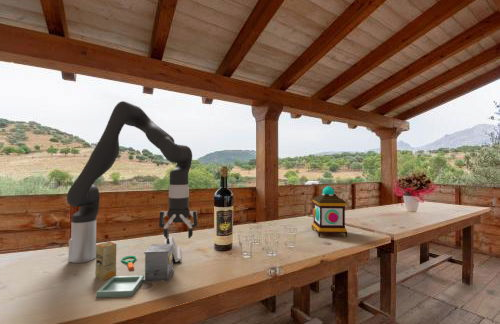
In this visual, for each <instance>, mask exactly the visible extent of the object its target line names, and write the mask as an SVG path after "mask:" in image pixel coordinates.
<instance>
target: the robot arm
mask: <svg viewBox="0 0 500 324" xmlns="http://www.w3.org/2000/svg"><path fill="white" fill-rule="evenodd" d="M125 125H127V126H130V127H134V128H136V129H139V130H140V131H141V132H142V133H144V134H145V136H146V138H147V140H148V141H149V142H150V143H151V144H153V146H155V147H156V148H157V149H158V150H159V151H160V152H161V154H162V155H163V157H165V159H166V160H167V161H168V162H171V163H175V164H176V166H175V168H173V169H171V170H170V172H169V187H168V210H167V211H165V210H161V211H160V212H159V217H158V218H159V220H158V221H159V222H158V228H162V229H163V236H164V238H165V239H168V238H169V237H170V227H169V226H170V225H171V224H172V223H174V224H175V223H180V224H181V223H184V224H185V225H186V227H188V239H191V237H192V236H193V233H194V232H193V231H194V228H196V227H198V210H197V209H195V210H190V201H189V200H190V190H189V189H190V188H189V173H190V171H191V166H192V161H193V152H192V149H191V148H190V147H189V146H188V145H184V144H177V143H175V139H174V138H173V136H172V135H171V134H169V133H168V132H167V131H165V130H164V129H162V128H161V127H160V126H159V125H158V124H156V123H155V122H154V121H153V120H152V119H151V118H150V117H149V116H148V115H147V113H146V112H145V111H144V110H143V109H142V108H141V107H139V106H137V105H135V104H133V103H131V102H128V101H125V100H123V101H120V102H118V103H117V104H116V105H115V106H114V108H113V110H112V113H111V114H110V117H109V118H108V121H107V124H106V126H105V129H104V131H103V133H102V134H101V137H100V139H99V140H98V142H97V144H96V145H95V147H94V149H93V151H92V153H91V155H90V156H89V158H88V160H87V162H86V164H85V165H84V168H83V169H82V171H81V172H80V174H79V175H78V177H77V178H76V180H75V181H74V182H73V183H72V185H71V186H70V187H69V190H68V192H67V194H66V202H67V203H68V205H70V206H71V207H75V208H76V207H77V208H80V209H79V210H78V211H76V212H75V213H74V214H72V216H71V223H70V224H71V227H70V230H71V235H70V238H69V240H68V256H67V257H68V259H67V261H68V263H73V264H82V263H86V262H89V261H93V260H94V259H96V245H97V217H98V214H99V210H100V198H101V197H100V191H99V188H98V187H97V186H96V185H95V184H94V183H95V182H96V181H97V180H98V179H100V178H101V177H102V176H103V175H104V174H105V173H106V172H108V171H109V170H110V169H111V168H112V167H113V165H114V163H115V162H116V160H117V159H118V158H119V157H118V156H119V154H120V141H119V137H120V133H121V131H122V129H123V127H125ZM166 216H168V217H169V220H168V221H167V222H166V223H165V217H166ZM189 216H191V217H192V218H193V222H192V221H191V220H190V219H189Z"/></svg>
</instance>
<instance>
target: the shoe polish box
mask: <svg viewBox="0 0 500 324" xmlns="http://www.w3.org/2000/svg"><path fill="white" fill-rule="evenodd" d="M94 274H95V278H96V279H98V280H101V281H105V280H107V279H108V280H109V279H111V278H112V277H113V276H117V243H114V242H111V241H106V242H104V243H99V244H96V257H95V273H94Z"/></svg>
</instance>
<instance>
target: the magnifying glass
mask: <svg viewBox="0 0 500 324" xmlns="http://www.w3.org/2000/svg"><path fill="white" fill-rule="evenodd" d="M128 259H130V260H128ZM120 261H121V263H122V264H124V265H127V268H128V270H129V271H133V270H134V269H135V266H134V263H135V262H136V261H137V256H136V255H127V256H124V257H121V259H120Z"/></svg>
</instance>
